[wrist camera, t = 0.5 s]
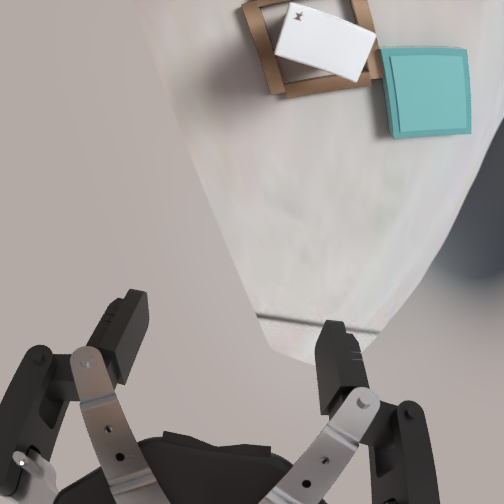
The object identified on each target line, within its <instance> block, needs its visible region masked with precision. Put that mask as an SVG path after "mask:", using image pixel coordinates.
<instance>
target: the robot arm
mask: <svg viewBox="0 0 504 504" xmlns="http://www.w3.org/2000/svg"><path fill="white" fill-rule="evenodd" d="M148 324H149V310H148V299H147V293H146V292H144V291H139V290H134V289H129V291H128V292H127V294H126V296H125V298H124V299H121V298H117V299H116V300H114V301H113V302H112V303H110V305H109V306H108V307H107V309H106V311H105V314H103V316H102V318H101V321H99V323H98V325H97V327H96V328H95V330H94V332H93V334H92V336H91V337H90V339H89V341H88V343H87V345H86V346H83V347H80V348H78V349H76V350H75V351H74V352H73V353H72V354H53V353H52V351H51V350H50V348H48V347H47V346H45V345H36V346H33V347H32V348H30V349H29V350H28V351H27V352H26V354H25V356H24V358H23V359H22V362H21V363H20V365H19V367H18V369H17V371H16V373H15V375H14V377H13V379H12V381H11V383H10V385H9V387H8V389H7V391H6V393H5V395H4V397H3V399H2V401H1V404H0V496H2V497H4V498H6V499H8V500H10V501H12V502H15V503H18V504H327V503H326V502H325V500H323V497H324V496H325V494H326V493H327V492H328V490H329V489H330V488H331V486H332V485H333V484H334V482H335V481H336V480H337V478H338V477H339V475H340V474H341V472H342V471H343V470H344V468H345V467H346V465H347V464H348V462H349V461H350V459H351V458H352V457H353V455H354V454H355V452H356V450H357V449H358V447H359V444H358V443H362V444H365V445H368V447H369V459H370V472H371V489H372V504H440V500H439V491H438V484H437V477H436V470H435V465H434V459H433V453H432V448H431V443H430V438H429V433H428V428H427V424H426V419H425V415H424V411H423V409H422V408H421V406H420V405H418V404H417V403H416V402H414V401H409V400H408V401H404V402H402V403H400V405H399V406H396V405H393V404H389V403H386V402H383V401H381V400H379V397H378V396H377V394H376V393H375V392H374V391H372V390H371V389H370V388H369V384H368V380H367V375H366V371H365V367H364V363H363V361H362V355H361V350H360V347H359V343H358V341H357V340H356V338H355V337H354V336H353V334H349V333H346V329H345V325H344V322H342V321H333V320H326V322H325V323H324V326H323V328H322V331H321V333H320V335H319V338H318V340H317V342H316V346H315V362H316V371H317V380H318V389H319V400H320V411H321V415H329V422H328V423H327V425H326V426H325V427H324V429H323V430H322V431H321V433H320V434H319V435H318V436H317V438H316V439H315V440H314V441H313V442H312V444H311V445H310V446H309V447H308V449H307V450H306V451H305V452H304V453H303V455H302V456H301V457H300V458H299V459H298V460H297V461H296V462H295V464H294V465H293V464H291V463H290V462H289V461H287V460H286V459H284V458H283V457H281V456H279V455H276V454H274V453H271V447H270V446H260V445H249V444H241V445H232V446H221V447H217V446H213V445H210V444H208V443H205V442H203V441H200V440H198V439H195V438H193V437H191V436H187V435H181V434H176V433H172V432H167V431H164V432H163V436H162V437H152V438H148V439H144V440H142V441H139V442H136V440H135V438H134V436H133V434H132V431H131V429H130V427H129V425H128V422H127V420H126V418H125V415H124V413H123V411H122V408H121V406H120V404H119V401H118V399H117V396H116V394H115V391H114V390H115V388H116V385H117V383H119V384H122V385H125V383H126V381H127V378H128V376H129V373H130V371H131V368H132V366H133V363H134V361H135V358H136V355H137V353H138V350H139V348H140V346H141V343H142V341H143V338H144V336H145V333H146V331H147V328H148ZM70 401H80V402H81V403H80V409H81V413H82V416H83V419H84V422H85V425H86V428H87V431H88V434H89V437H90V439H91V442H92V445H93V447H94V450H95V452H96V455H97V458H98V460H99V463H100V465H101V466H100V467H99V468H97V469H96V470H94V471H92V472H91V473H89V474H87V475H86V476H84V477H82V478H81V479H79V480H77V481H76V482H74V483H72V484H71V485H69V486H67V487H66V488H64V489H62V490H61V491H60V492H58V490H57V488H56V473H55V470H54V468H53V466H52V465H51V464H50V463H49V461H50V458H51V454H52V451H53V448H54V445H55V442H56V439H57V436H58V433H59V430H60V427H61V424H62V421H63V418H64V416H65V413H66V410H67V407H68V405H69V402H70Z"/></svg>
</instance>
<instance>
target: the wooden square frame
mask: <svg viewBox="0 0 504 504" xmlns="http://www.w3.org/2000/svg"><path fill="white" fill-rule="evenodd" d="M286 1H291V0H256V1H252V2H248V3H244V4H241V6H242V8H243V11H244V14H245V17H246V19H247V22H248V25H249V28H250V31H251V34H252V37H253V40H254V43H255V46H256V49H257V52H258V55H259V58H260V61H261V64H262V67H263V70H264V73H265V77H266V80H267V83H268V86H269V89H270V93H271V95H274V94H278V93H283V92H285V93H286V96H287V98H293V97H298V96H303V95H309V94H315V93H321V92H327V91H334V90H341V89H349V88H357V87H366V86H372V83H371V79H378V78H384V72H383V66H382V61H381V56H380V51H379V46H378V42H377V37H376V39H375V41H374V43H373V46H372V48H371V51H370V53H369V55H368V58H367V60H366V62H365V63H366V67H367V71H362V72H361V74H360V76H359V78H358V81H357V82H356V83H355V82H352V81H350V80H348V79H345V78H342V77H340V76H337V75H328V76H322V77H315V78H310V79H304V80H298V81H293V82H288V83H284V82H283V78H282V75H281V72H280V68H279V65H278V62H277V58H276V55H275V54H274V49H273V46H272V42H271V39H270V36H269V33H268V30H267V27H266V24H265V21H264V18H263V15H262V13H261V10H260V7H264V6H268V5H272V4H277V3H281V2H286ZM350 3H351V6H352V10H353V13H354V17H355V20H356V24H357V25H358V26H360V27H362V28H365V29H367V30H369V31H371V32H373V33H375V29H374V25H373V21H372V17H371V13H370V9H369V6H368V2H367V0H350ZM375 34H376V33H375Z"/></svg>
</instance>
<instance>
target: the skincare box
mask: <svg viewBox="0 0 504 504" xmlns="http://www.w3.org/2000/svg"><path fill="white" fill-rule="evenodd" d="M375 39H376V34H375V33H373V32H371V31H369V30H367V29H365V28H362V27H360V26H358V25H355V24H353V23H350V22H348V21H346V20H343V19H341V18H339V17H337V16H334V15H331V14H328V13H325V12H322V11H319V10H316V9H313V8H310V7H307V6H303V5H300V4H296V3H292V2H290V3H289V5H288V9H287V12H286V15H285V18H284V22H283V25H282V28H281V31H280V35H279V38H278V41H277V45H276V48H275V52H274V54H275V55H277V56H280V57H283V58H286V59H289V60H292V61H295V62H298V63H302V64H305V65H308V66H311V67H314V68H318V69H321V70H323V71H326V72H329V73H332V74H335V75H337V76H340V77H342V78H345V79H348V80H350V81H352V82H355V83H356V82H357V81H358V78H359V76H360V74H361V72H362V69H363V67H364V65H365V62H366V60H367V58H368V55H369V53H370V51H371V48H372V46H373V43H374V41H375Z"/></svg>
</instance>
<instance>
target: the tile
mask: <svg viewBox="0 0 504 504" xmlns="http://www.w3.org/2000/svg"><path fill="white" fill-rule="evenodd" d="M379 51H380V56H381V61H382V66H383V72H384V78H382V81H383V87H384V93H385V100H386V107H387V115H388V123H389V132H390V134H391V135H392V137H393V138H394V139H399V138H410V137H422V136H437V135H456V134H471V92H470V77H469V66H468V56H467V49H463V48H460V47H446V46H396V47H379Z"/></svg>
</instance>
